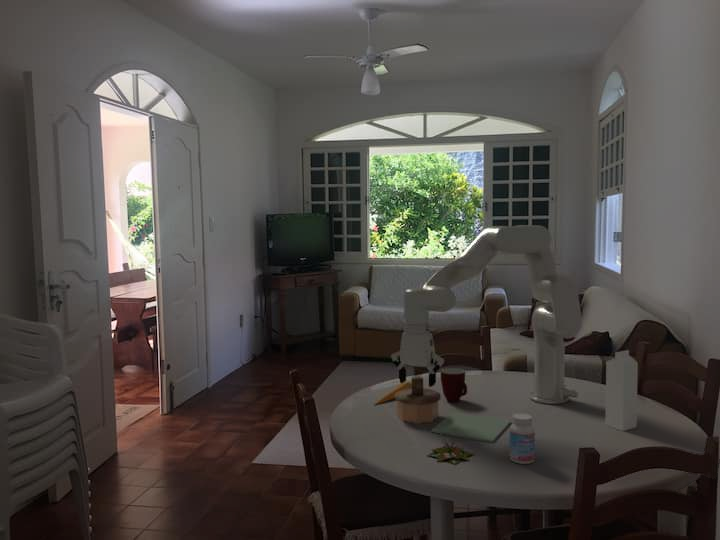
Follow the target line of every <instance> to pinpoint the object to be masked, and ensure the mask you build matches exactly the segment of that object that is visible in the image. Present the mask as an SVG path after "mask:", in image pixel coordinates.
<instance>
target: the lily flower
mask: <svg viewBox="0 0 720 540" xmlns="http://www.w3.org/2000/svg"><path fill="white" fill-rule="evenodd" d="M454 439H455V438H453V439H452V441H451V443H452V444H449V442H447V441H446V440H445V439H444V438H443V440H441V442H442V443H443V444H444V445H442V447H437V448H434V449H433V448H432V449H431V450H432V451H435V452H431V453H429V454H427V455H426V457H432V458H433V457H434V458H436V460H437V461H436V463H439V462H442V461H444V460H445V461H446V462H449V463H451V464H453V465H454V466H456V465H457V464H458V463H459V462H460V460H461V459H462V460H465V461H469V462H470V461H471V460H470V459H469V458H468V456H473V455H474V453H473V452H470V451H464V448H462V447H459V446H460V444H457V445H456V446H455V443H456V442H457V440H454ZM453 441H454V442H453ZM438 453H439V454H440V455H437V457H436V456H431V455H436V454H438ZM444 453H449V454H448V455H449V456H450V455H452V456H450V457H449V456H446V457H445V455H444ZM451 453H454V454H455V455H456V457H455V455H454V454H451ZM460 453H462V454H460ZM429 455H430V456H429ZM453 455H454V456H453ZM456 458H458V459H456ZM447 459H449V460H450V459H455V460H456V461H455V460H454V461H455V463H453V462H454V461H453V462H452V460H451V461H449V460H447ZM438 461H439V462H438Z"/></svg>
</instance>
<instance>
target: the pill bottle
mask: <svg viewBox="0 0 720 540" xmlns="http://www.w3.org/2000/svg"><path fill="white" fill-rule="evenodd" d="M512 422H513V423H512V424H510V427H509V459H510V460H511V461H512V462H514V463H516V464H519V465H520V464H521V465H529V464H532V463H534V461H535V459H536V458H535V457H536V456H535V455H536V453H535V451H536V446H535V445H536V444H535V443H536V441H535V440H536V432H535V431H536V430H535V426H533V425H532V423H533V417H532V416H531V414H527V413H515V414H513V415H512Z"/></svg>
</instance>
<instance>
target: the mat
mask: <svg viewBox="0 0 720 540" xmlns="http://www.w3.org/2000/svg"><path fill="white" fill-rule="evenodd" d="M511 422H512V420H507V419H501V418H494V417H487V416H482V415H474V414H469V413H459V412H454V411H453V412H452V413H450V414H449V415H448V416H447V417H445V418H444V419H443V420H441V422H439V423H438V424H437V425H436V426H434V427H433V428H432V429H431V430H430V433H432V432H434V433H433V434H438V433H440V434H439V435H443V434H446V436H449V435H451V437H455V436H457V437H456V438H461V437H463V439H467V438H468V439H469V440H473V441H474V440H475V441H481V442H485V443H494V442H495V441H496V440H497V439H498V438H499V436H500V435H501V434H502V433H503V432H504V431H505V430H506V429H507V428H508V426H509V425H511Z"/></svg>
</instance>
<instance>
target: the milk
mask: <svg viewBox="0 0 720 540" xmlns="http://www.w3.org/2000/svg"><path fill="white" fill-rule="evenodd" d="M605 363H606V365H605V367H606V368H605V369H606V371H605V379H606V380H605V381H606V382H605V426H607V427H610V428H613V429H616V430H618V431H619V430H620V431H622V432H625V431H627V430H631V429H636V428H637V425H638V424H637V421H638V420H637V418H638V417H637V416H638V415H637V414H638V372H639V371H638V370H639V369H638V367H639V366H638V365H639V362H637V361H636V360H635V359H634V358H633V357H632V356H631V355H630V350H628V349H627V350H626V349H625V350H620V351H615V352H614V358H612V359H610V360H606V362H605Z"/></svg>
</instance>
